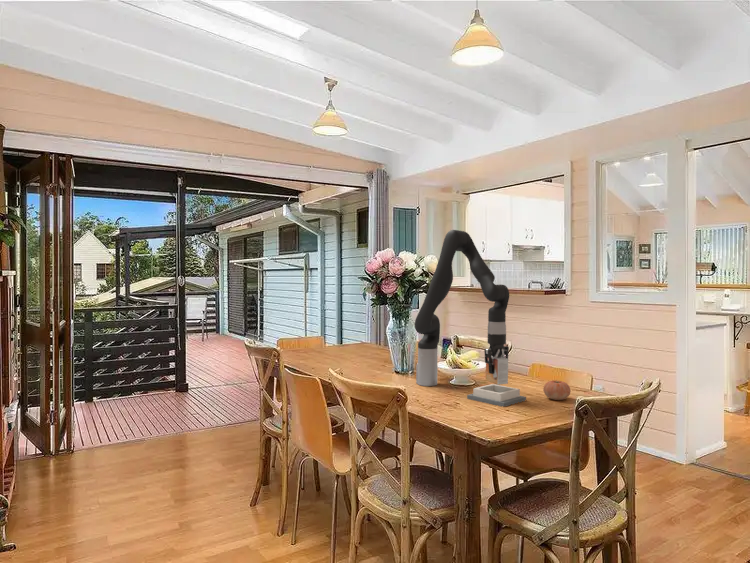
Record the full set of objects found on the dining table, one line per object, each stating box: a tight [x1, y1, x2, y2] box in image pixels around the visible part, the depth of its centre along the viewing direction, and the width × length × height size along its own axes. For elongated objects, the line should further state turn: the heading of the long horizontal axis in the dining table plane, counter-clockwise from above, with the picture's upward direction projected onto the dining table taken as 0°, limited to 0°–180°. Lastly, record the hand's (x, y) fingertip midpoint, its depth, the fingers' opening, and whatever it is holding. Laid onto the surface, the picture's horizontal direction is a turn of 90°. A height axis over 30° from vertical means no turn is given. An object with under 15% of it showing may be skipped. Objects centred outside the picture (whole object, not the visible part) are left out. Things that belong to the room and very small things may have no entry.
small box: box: [485, 356, 509, 385], centre depth 217 cm, size 8×6×10 cm
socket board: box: [466, 383, 527, 408], centre depth 217 cm, size 18×16×4 cm
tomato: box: [542, 380, 571, 401], centre depth 219 cm, size 11×11×8 cm
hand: (496, 372), depth 217 cm, fingers closed on small box, 6 cm apart
